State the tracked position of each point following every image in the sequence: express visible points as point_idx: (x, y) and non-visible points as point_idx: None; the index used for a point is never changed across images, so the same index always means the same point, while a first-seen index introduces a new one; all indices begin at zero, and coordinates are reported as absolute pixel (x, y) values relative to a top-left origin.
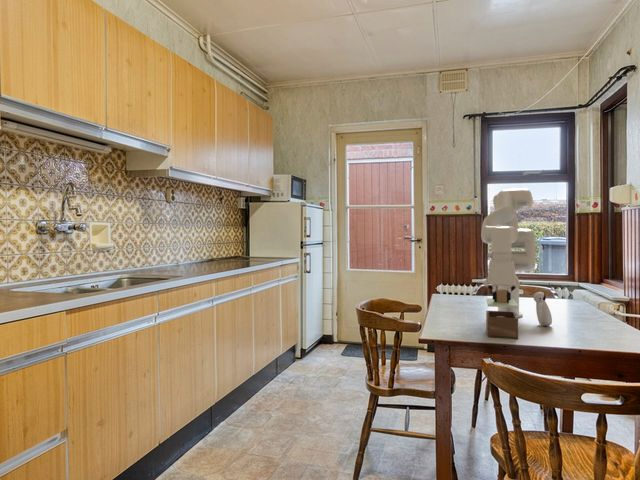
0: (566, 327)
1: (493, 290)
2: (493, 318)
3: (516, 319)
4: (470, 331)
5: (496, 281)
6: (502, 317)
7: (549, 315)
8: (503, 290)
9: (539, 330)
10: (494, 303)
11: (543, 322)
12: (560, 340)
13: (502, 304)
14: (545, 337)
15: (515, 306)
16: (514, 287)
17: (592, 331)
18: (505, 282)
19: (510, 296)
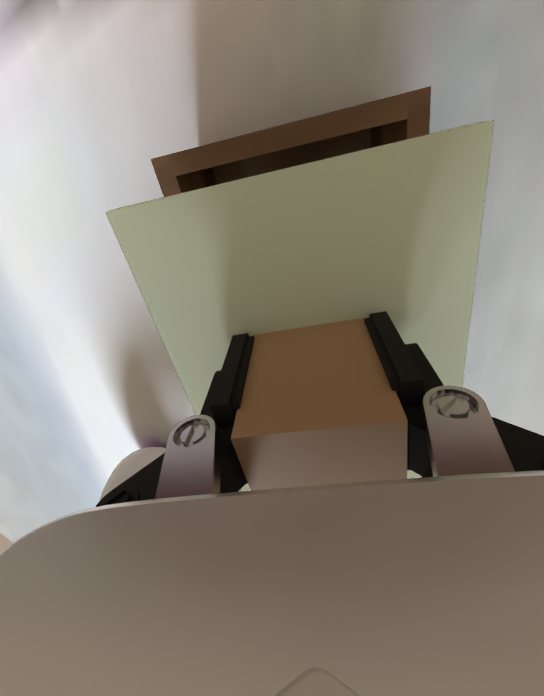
0: (97, 458)
1: (460, 409)
2: (368, 104)
3: (167, 156)
4: (483, 227)
5: (540, 600)
6: (286, 148)
7: (113, 472)
8: (286, 432)
9: (160, 387)
10: (389, 246)
11: (154, 450)
12: (18, 239)
13: (288, 216)
14: (96, 270)
15: (137, 206)
16: (102, 504)
17: (8, 436)
18: (202, 572)
19: (208, 393)
